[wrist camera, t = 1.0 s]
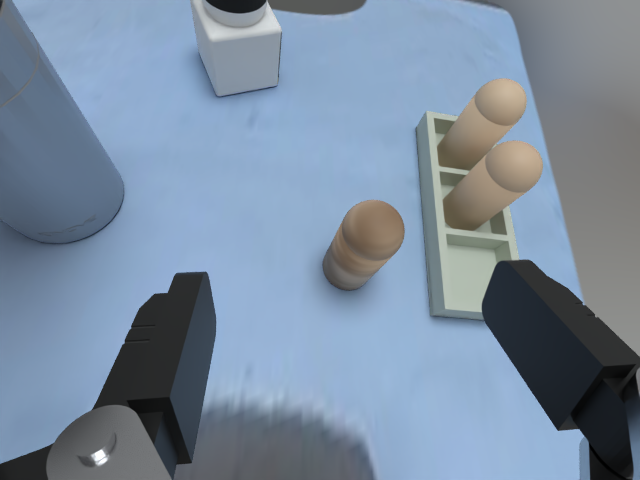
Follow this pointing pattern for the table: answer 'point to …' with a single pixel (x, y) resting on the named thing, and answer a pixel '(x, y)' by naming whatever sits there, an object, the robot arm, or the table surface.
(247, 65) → the medicine bottle
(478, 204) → the compartment tray
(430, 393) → the table surface
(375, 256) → the round-topped wooden peg
